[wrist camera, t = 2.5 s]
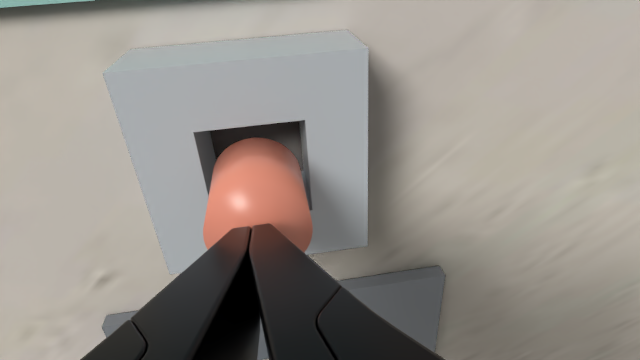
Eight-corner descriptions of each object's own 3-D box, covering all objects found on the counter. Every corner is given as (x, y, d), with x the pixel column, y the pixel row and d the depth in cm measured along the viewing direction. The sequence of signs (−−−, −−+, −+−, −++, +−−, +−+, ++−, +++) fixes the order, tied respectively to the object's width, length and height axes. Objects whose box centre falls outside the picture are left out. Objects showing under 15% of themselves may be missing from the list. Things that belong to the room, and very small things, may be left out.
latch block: (181, 226, 15) (170, 274, 13) (130, 49, 11) (102, 72, 9) (351, 204, 15) (367, 246, 13) (347, 29, 12) (368, 47, 10)
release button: (221, 219, 12) (214, 280, 9) (204, 143, 10) (192, 195, 8) (304, 208, 12) (316, 266, 10) (297, 133, 11) (309, 180, 8)
